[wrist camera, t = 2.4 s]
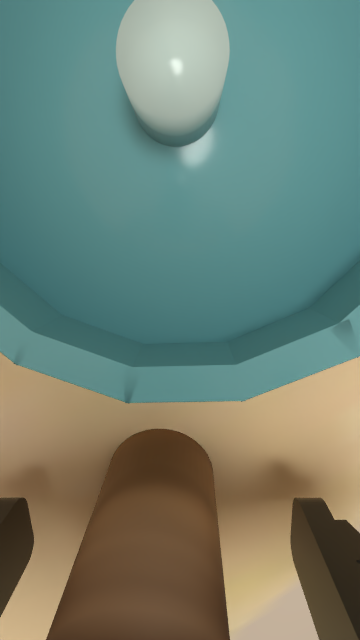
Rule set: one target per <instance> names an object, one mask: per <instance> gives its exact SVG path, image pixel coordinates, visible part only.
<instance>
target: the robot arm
mask: <svg viewBox="0 0 360 640" xmlns="http://www.w3.org/2000/svg"><path fill="white" fill-rule="evenodd" d="M33 545H34V535H33V530H32V525H31V520H30V514H29V509H28V504H27V501H26V499H25V498H0V617H1V615H2V613H3V611H4V609H5V607H6V605H7V603H8V601H9V599H10V597H11V595H12V593H13V591H14V590H15V588H16V586H17V584H18V582H19V580H20V578H21V576H22V574H23V572H24V570H25V568H26V566H27V564H28V562H29V560H30V557H31V554H32V550H33ZM291 550H292V556H293V561H294V564H295V568H296V571H297V574H298V577H299V580H300V583H301V586H302V589H303V592H304V595H305V598H306V601H307V604H308V607H309V610H310V613H311V616H312V619H313V622H314V625H315V628H316V631H317V634H318V637H319V640H360V533H359V532H358V531H357V530H356V529H355V528H354V527H353V526H352V525H351V524H350V523H348V522H347V521H346V520H334V518H333V516H332V514H331V512H330V511H329V509H328V507H327V505H326V503H325V502H324V500H323V499H322V498H294V500H293V509H292V524H291Z"/></svg>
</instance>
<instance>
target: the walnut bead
mask: <svg viewBox="0 0 360 640" xmlns="http://www.w3.org/2000/svg"><path fill="white" fill-rule="evenodd" d="M46 640H230V636H229V627H228V617H227V607H226V597H225V587H224V578H223V568H222V558H221V548H220V538H219V529H218V519H217V509H216V499H215V489H214V480H213V470H212V465H211V461H210V459H209V457H208V455H207V453H206V452H205V450H204V449H203V448H202V447H201V446H200V445H199V444H198V443H197V442H196V441H195V440H193V439H192V438H190V437H188V436H187V435H184V434H182V433H180V432H176V431H173V430H167V429H151V430H146V431H143V432H139V433H137V434H135V435H133V436H131V437H129V438H128V439H126V440H125V441H124V442H123V443H122V444H121V445H120V446H119V447H118V449H117V450H116V452H115V453H114V456H113V458H112V461H111V463H110V466H109V469H108V472H107V474H106V477H105V480H104V483H103V485H102V488H101V491H100V494H99V496H98V499H97V502H96V504H95V507H94V510H93V513H92V515H91V518H90V521H89V524H88V526H87V529H86V532H85V535H84V537H83V540H82V543H81V546H80V548H79V551H78V554H77V557H76V559H75V562H74V565H73V568H72V570H71V573H70V576H69V579H68V581H67V584H66V587H65V590H64V592H63V595H62V598H61V600H60V603H59V606H58V609H57V611H56V614H55V617H54V620H53V622H52V625H51V628H50V631H49V633H48V636H47V639H46Z"/></svg>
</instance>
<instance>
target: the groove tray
mask: <svg viewBox="0 0 360 640" xmlns="http://www.w3.org/2000/svg"><path fill="white" fill-rule="evenodd" d="M0 352H1V353H2V354H3V355H5V356H6V357H7V358H8V359H10V360H11V361H12V362H14V364H16V365H20V366H22V367H25V368H28V369H31V370H34V371H37V372H40V373H43V374H46V375H48V376H51V377H54V378H57V379H60V380H63V381H66V382H69V383H71V384H74V385H77V386H80V387H83V388H86V389H89V390H92V391H95V392H97V393H100V394H103V395H106V396H109V397H112V398H115V399H118V400H121V401H123V402H125V403H148V402H206V401H241V402H242V401H246V400H247V399H250V398H252V397H255V396H257V395H260V394H263V393H265V392H268V391H270V390H273V389H276V388H278V387H281V386H283V385H286V384H289V383H291V382H294V381H296V380H299V379H302V378H304V377H307V376H309V375H312V374H315V373H317V372H320V371H322V370H325V369H328V368H330V367H333V366H335V365H338V364H341V363H343V362H346V361H348V360H351V359H354V358H356V357H357V358H358V357H359V356H360V0H0Z"/></svg>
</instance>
